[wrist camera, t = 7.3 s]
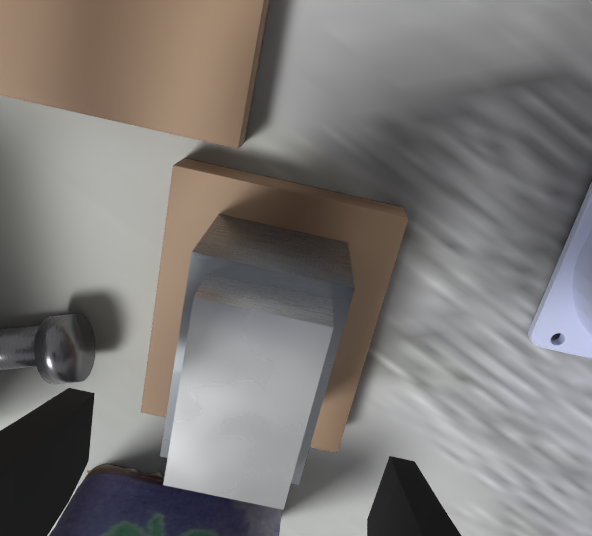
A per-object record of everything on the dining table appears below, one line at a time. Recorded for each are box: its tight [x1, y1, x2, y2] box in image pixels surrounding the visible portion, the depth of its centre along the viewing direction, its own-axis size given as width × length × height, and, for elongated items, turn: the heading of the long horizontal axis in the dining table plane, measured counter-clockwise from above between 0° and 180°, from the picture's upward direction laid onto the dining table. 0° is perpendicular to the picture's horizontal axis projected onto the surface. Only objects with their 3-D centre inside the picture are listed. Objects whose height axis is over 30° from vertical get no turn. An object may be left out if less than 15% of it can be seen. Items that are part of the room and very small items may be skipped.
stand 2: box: [141, 158, 409, 453], centre depth 20 cm, size 8×10×2 cm
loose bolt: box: [0, 314, 95, 384], centre depth 20 cm, size 6×3×3 cm, turn 98°
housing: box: [160, 214, 355, 510], centre depth 17 cm, size 4×7×6 cm, turn 168°
